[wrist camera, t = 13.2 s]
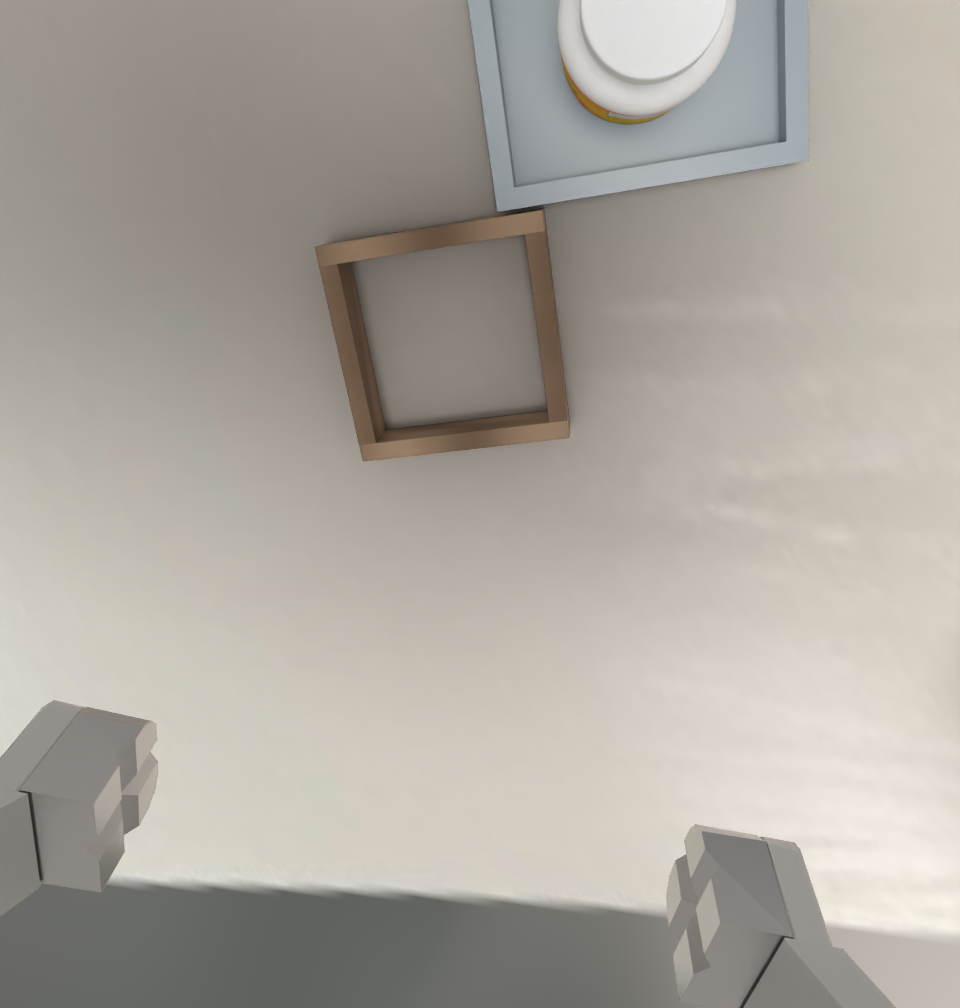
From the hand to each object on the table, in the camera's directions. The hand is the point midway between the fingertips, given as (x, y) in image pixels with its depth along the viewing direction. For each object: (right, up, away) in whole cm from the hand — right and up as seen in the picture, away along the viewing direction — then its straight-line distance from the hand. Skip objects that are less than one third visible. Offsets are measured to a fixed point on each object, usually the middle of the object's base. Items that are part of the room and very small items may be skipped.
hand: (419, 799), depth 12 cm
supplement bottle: (+7, +22, +19) cm, 30 cm away
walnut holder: (0, +12, +24) cm, 27 cm away
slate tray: (+7, +22, +19) cm, 30 cm away
